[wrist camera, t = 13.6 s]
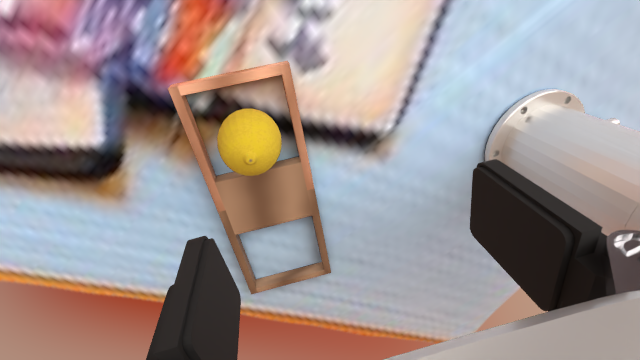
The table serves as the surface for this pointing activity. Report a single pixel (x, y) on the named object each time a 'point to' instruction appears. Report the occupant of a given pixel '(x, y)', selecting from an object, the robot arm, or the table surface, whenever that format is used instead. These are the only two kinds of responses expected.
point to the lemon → (249, 142)
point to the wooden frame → (257, 180)
